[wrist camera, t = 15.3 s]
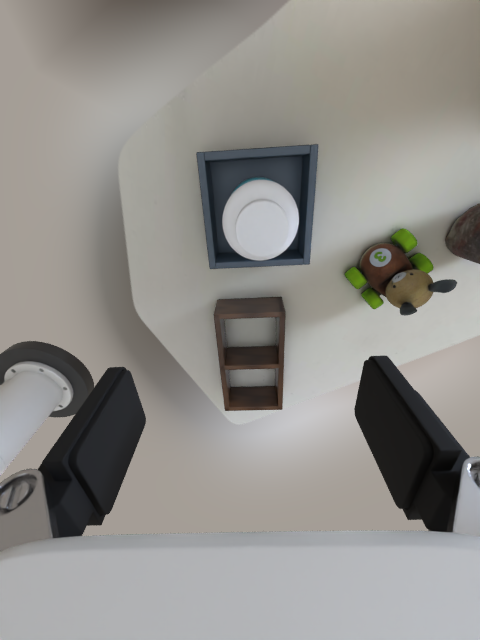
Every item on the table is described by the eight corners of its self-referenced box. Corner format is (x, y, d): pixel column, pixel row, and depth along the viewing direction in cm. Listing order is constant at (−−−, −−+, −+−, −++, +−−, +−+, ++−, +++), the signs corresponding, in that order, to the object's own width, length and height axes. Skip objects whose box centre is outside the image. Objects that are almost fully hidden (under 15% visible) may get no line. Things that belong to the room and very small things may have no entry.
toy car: (396, 221, 35) (453, 241, 25) (427, 267, 38) (489, 300, 28) (338, 268, 38) (369, 301, 29) (371, 307, 41) (409, 349, 32)
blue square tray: (214, 257, 38) (209, 269, 34) (203, 155, 32) (196, 152, 27) (302, 253, 37) (309, 264, 33) (308, 148, 31) (318, 144, 27)
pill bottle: (222, 184, 33) (208, 191, 21) (281, 170, 32) (302, 169, 20) (235, 243, 36) (229, 278, 25) (288, 232, 36) (309, 263, 24)
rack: (226, 390, 51) (225, 410, 46) (217, 299, 41) (213, 314, 37) (279, 389, 50) (282, 409, 46) (281, 296, 41) (285, 311, 36)
